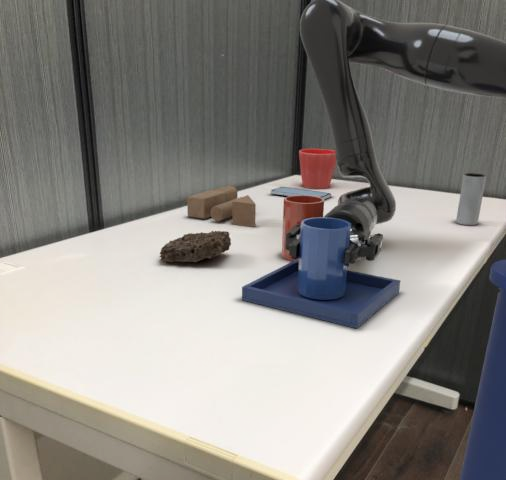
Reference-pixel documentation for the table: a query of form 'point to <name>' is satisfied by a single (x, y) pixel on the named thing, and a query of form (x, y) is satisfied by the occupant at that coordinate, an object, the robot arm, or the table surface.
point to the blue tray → (335, 310)
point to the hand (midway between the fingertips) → (320, 255)
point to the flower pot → (317, 167)
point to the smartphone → (299, 192)
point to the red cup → (299, 214)
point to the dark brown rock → (196, 247)
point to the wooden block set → (222, 206)
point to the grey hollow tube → (470, 198)
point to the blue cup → (323, 257)
